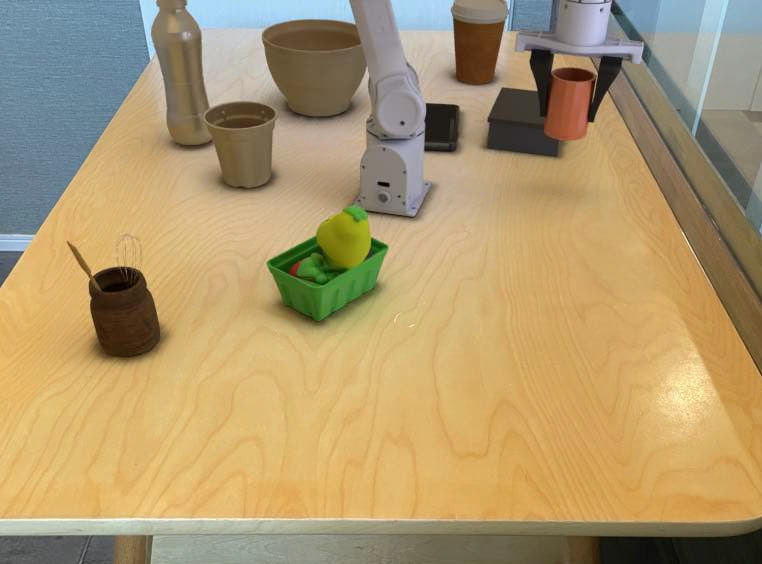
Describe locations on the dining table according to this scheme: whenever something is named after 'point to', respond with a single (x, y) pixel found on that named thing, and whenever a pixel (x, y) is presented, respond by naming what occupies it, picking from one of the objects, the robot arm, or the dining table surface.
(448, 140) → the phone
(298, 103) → the planter bowl
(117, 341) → the utensil holder
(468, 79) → the disposable coffee cup
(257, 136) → the flower pot
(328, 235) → the fruit basket
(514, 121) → the container
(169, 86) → the plastic bottle
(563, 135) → the cup
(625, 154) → the dining table surface
